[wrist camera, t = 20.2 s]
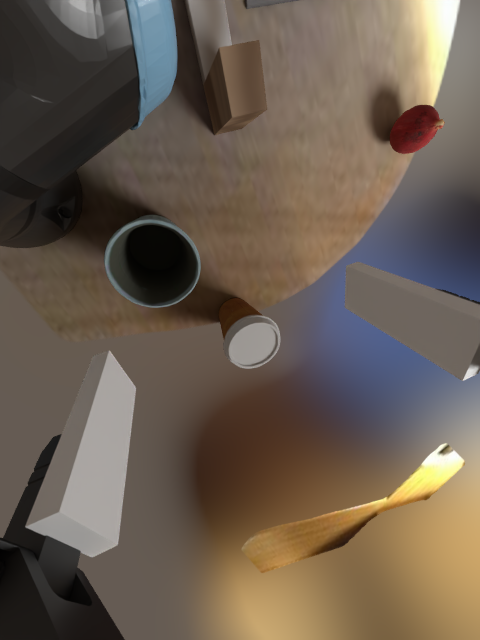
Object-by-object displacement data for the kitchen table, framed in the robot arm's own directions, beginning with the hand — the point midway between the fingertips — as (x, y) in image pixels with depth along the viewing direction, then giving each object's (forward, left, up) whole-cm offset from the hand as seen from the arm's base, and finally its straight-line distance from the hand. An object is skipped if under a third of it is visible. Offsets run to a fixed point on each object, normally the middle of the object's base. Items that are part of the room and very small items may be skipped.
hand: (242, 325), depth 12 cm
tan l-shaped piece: (+10, +21, -29) cm, 37 cm away
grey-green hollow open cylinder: (-5, 0, -29) cm, 29 cm away
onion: (+38, +6, -29) cm, 48 cm away
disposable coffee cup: (+4, -16, -29) cm, 33 cm away
